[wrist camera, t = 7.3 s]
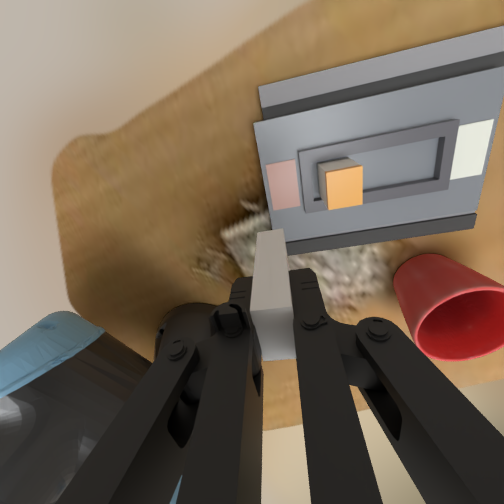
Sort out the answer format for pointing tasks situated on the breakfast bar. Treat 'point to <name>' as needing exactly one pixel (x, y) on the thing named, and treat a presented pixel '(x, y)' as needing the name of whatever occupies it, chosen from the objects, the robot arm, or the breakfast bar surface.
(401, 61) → the grey long bar
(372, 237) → the long gray bar
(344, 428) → the robot arm
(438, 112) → the breaker panel
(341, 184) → the lever
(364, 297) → the breakfast bar surface
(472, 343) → the flower pot
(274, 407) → the breakfast bar surface
